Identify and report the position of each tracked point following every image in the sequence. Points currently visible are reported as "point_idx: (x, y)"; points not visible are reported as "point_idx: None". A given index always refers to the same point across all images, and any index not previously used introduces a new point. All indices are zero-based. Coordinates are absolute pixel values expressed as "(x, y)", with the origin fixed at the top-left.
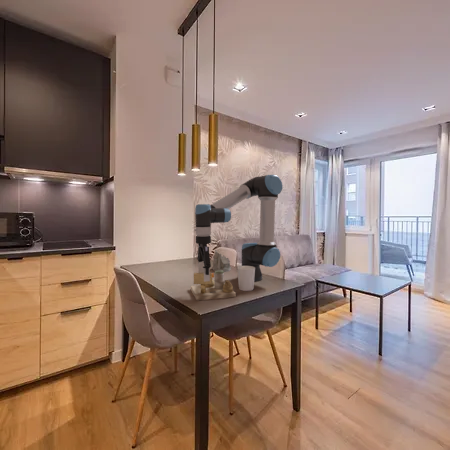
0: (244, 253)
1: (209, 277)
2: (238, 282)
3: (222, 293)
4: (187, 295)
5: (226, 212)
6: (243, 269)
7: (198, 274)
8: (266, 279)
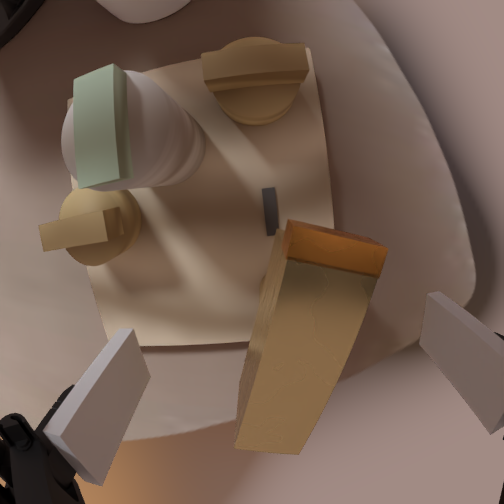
0: None
1: (459, 309)
2: (130, 5)
3: (313, 141)
4: (228, 361)
5: None
6: None
7: (315, 421)
8: None
